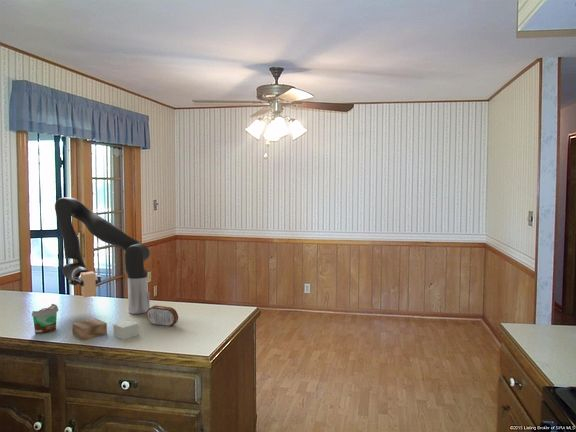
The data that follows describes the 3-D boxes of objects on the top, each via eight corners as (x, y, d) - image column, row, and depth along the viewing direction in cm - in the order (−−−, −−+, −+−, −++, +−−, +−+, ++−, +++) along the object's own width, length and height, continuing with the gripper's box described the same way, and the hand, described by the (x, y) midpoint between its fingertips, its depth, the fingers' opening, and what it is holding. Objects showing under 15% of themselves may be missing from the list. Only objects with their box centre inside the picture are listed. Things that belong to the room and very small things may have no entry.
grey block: (128, 331, 194) (128, 320, 194) (138, 335, 190) (137, 323, 189) (113, 336, 189) (113, 324, 188) (123, 339, 184) (122, 327, 184)
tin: (178, 325, 201) (178, 307, 201) (174, 328, 198) (174, 309, 198) (150, 322, 206) (149, 304, 206) (145, 324, 203) (145, 306, 203)
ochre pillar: (93, 293, 204) (92, 271, 203) (96, 295, 199) (95, 273, 199) (81, 294, 201) (80, 272, 200) (83, 297, 197) (83, 274, 196)
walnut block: (96, 329, 197) (95, 318, 197) (106, 334, 191) (106, 323, 190) (72, 335, 190) (72, 323, 190) (82, 340, 183) (82, 328, 183)
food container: (45, 336, 188) (44, 312, 187) (32, 335, 189) (31, 311, 189) (65, 326, 200) (64, 304, 199) (53, 325, 202) (52, 303, 201)
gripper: (64, 269, 207) (71, 276, 193) (97, 266, 215) (106, 272, 201) (64, 286, 207) (72, 293, 193) (98, 281, 216) (107, 289, 202)
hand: (89, 283), depth 197 cm, fingers closed on ochre pillar, 5 cm apart
